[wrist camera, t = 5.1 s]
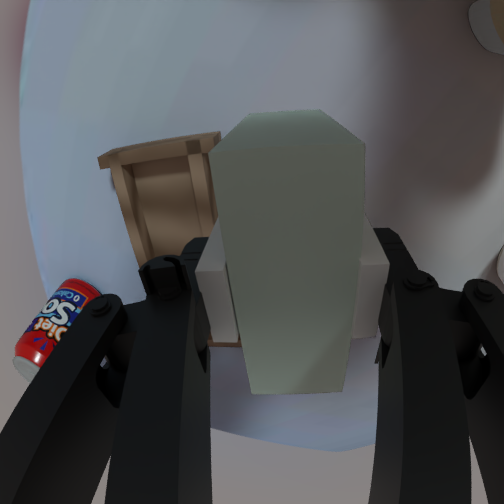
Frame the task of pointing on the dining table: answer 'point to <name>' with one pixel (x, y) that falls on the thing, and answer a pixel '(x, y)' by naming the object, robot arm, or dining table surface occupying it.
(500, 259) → the mug
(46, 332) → the soda can
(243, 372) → the dining table surface
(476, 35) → the coffee cup
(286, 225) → the pale green block
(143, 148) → the wooden tray
